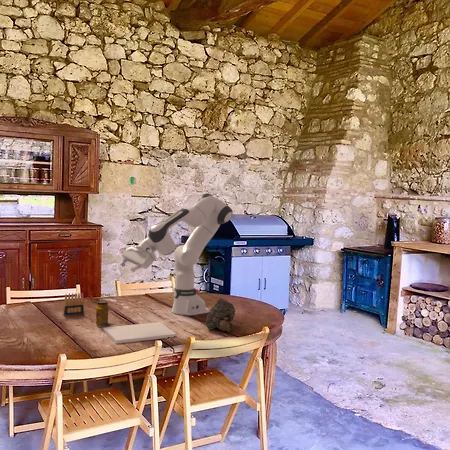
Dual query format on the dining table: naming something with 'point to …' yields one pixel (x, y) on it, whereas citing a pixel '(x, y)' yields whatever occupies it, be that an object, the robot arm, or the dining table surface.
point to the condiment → (102, 314)
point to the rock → (221, 316)
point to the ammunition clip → (73, 305)
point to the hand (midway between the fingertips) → (126, 268)
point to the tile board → (138, 332)
